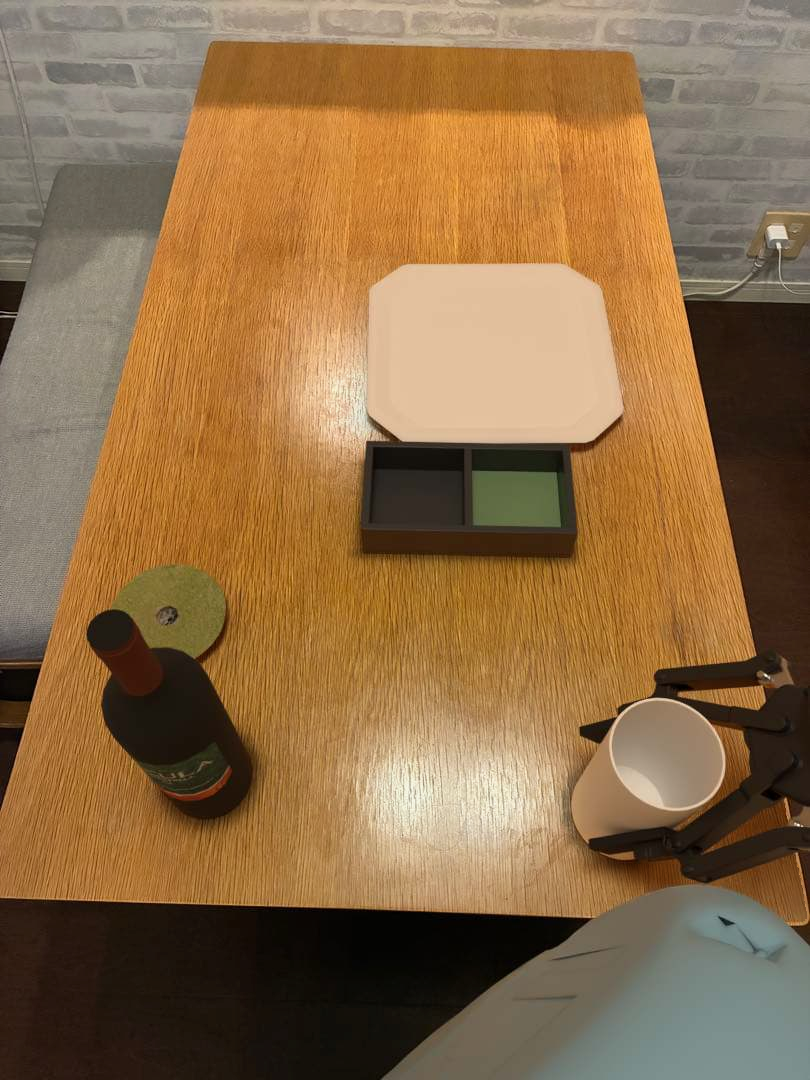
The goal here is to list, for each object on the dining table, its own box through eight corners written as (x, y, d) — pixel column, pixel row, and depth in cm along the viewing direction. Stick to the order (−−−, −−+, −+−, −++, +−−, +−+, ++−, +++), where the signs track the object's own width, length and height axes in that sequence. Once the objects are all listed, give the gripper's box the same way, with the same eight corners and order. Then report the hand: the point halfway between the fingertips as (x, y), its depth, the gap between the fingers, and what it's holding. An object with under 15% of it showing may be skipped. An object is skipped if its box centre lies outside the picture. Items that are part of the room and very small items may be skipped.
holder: (570, 557, 87) (578, 533, 84) (362, 553, 88) (360, 529, 84) (562, 470, 93) (569, 444, 89) (367, 466, 94) (366, 440, 90)
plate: (626, 453, 94) (631, 441, 93) (366, 455, 94) (365, 442, 93) (594, 274, 110) (597, 261, 108) (370, 276, 110) (369, 262, 108)
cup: (617, 880, 71) (667, 836, 57) (551, 800, 74) (584, 740, 61) (686, 820, 73) (751, 764, 60) (620, 745, 77) (666, 676, 63)
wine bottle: (268, 755, 77) (199, 602, 51) (224, 834, 73) (126, 711, 48) (196, 721, 78) (94, 556, 53) (150, 797, 75) (17, 659, 49)
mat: (136, 565, 87) (131, 555, 85) (242, 581, 86) (239, 572, 84) (97, 666, 81) (90, 657, 80) (210, 684, 80) (206, 676, 79)
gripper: (962, 910, 51) (634, 937, 65) (870, 601, 62) (607, 680, 76) (918, 892, 47) (576, 925, 61) (828, 563, 58) (556, 654, 72)
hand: (593, 789), depth 68 cm, fingers closed on cup, 8 cm apart
